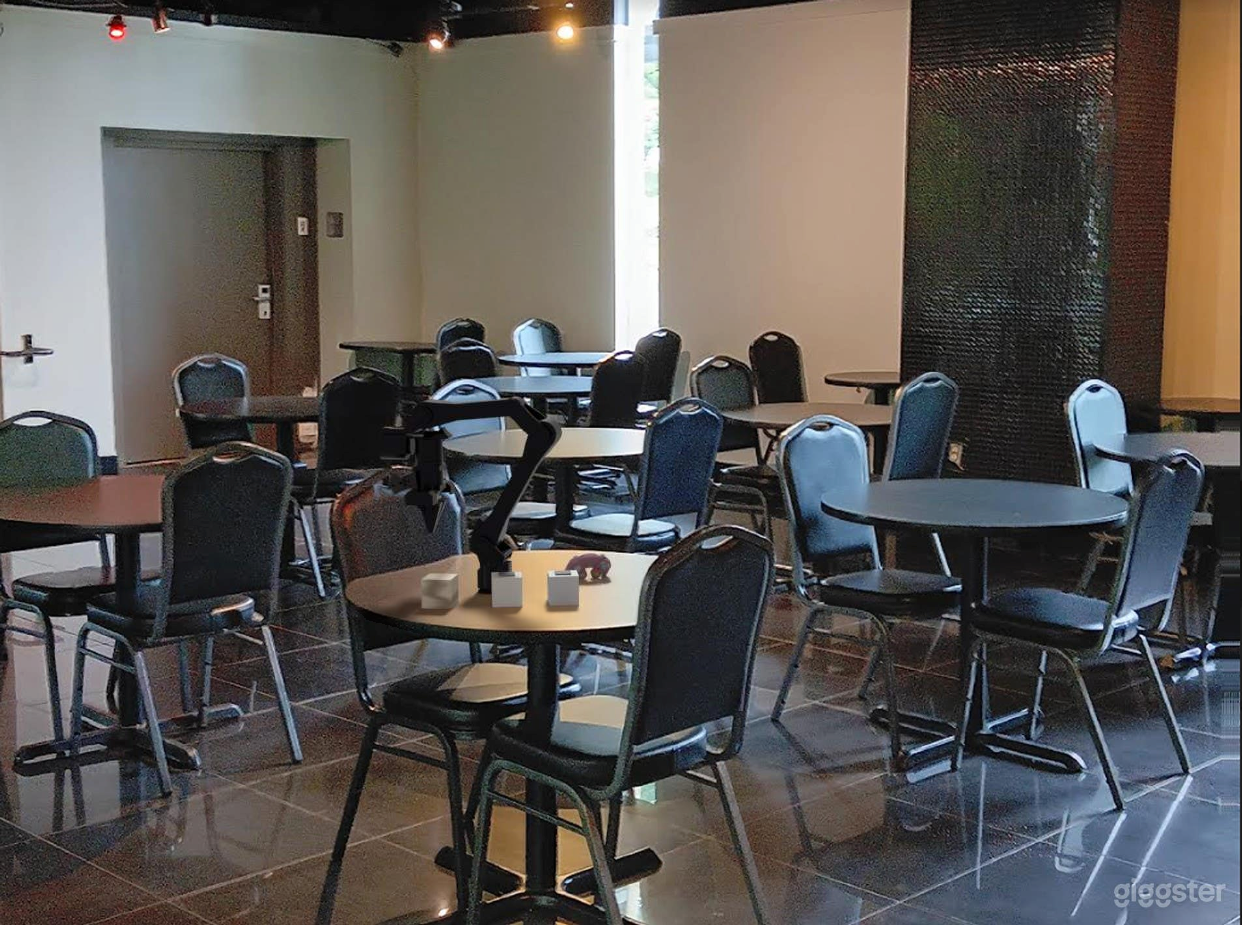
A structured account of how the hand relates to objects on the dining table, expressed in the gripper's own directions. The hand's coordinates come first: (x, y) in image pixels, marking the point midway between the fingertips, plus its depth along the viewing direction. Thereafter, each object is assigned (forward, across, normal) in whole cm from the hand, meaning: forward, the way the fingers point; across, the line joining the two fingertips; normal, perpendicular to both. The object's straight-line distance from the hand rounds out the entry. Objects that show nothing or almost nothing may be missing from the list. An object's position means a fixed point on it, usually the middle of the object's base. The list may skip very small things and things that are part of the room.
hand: (430, 533), depth 324 cm
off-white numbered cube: (+12, +12, +19) cm, 25 cm away
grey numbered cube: (+12, +8, +30) cm, 33 cm away
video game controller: (+12, -16, +31) cm, 37 cm away
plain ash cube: (+12, +15, +6) cm, 20 cm away
